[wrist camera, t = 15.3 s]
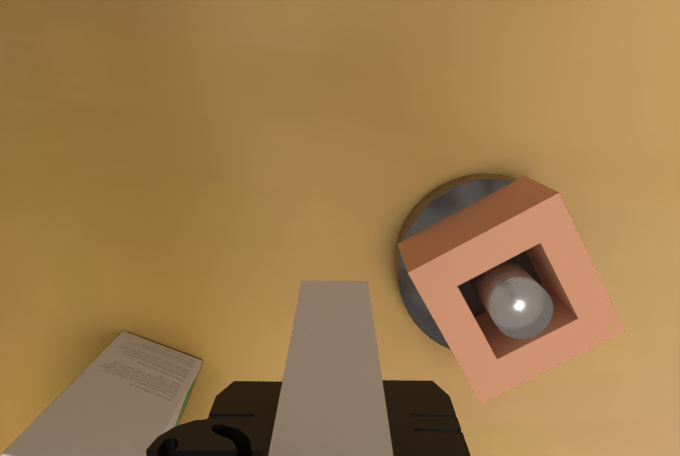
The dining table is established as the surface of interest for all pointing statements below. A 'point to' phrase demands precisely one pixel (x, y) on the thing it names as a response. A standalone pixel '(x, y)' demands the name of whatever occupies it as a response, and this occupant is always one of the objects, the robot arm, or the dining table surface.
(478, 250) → the pink square tube frame
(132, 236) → the dining table surface
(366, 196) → the dining table surface
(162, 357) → the skincare box
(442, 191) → the hub
